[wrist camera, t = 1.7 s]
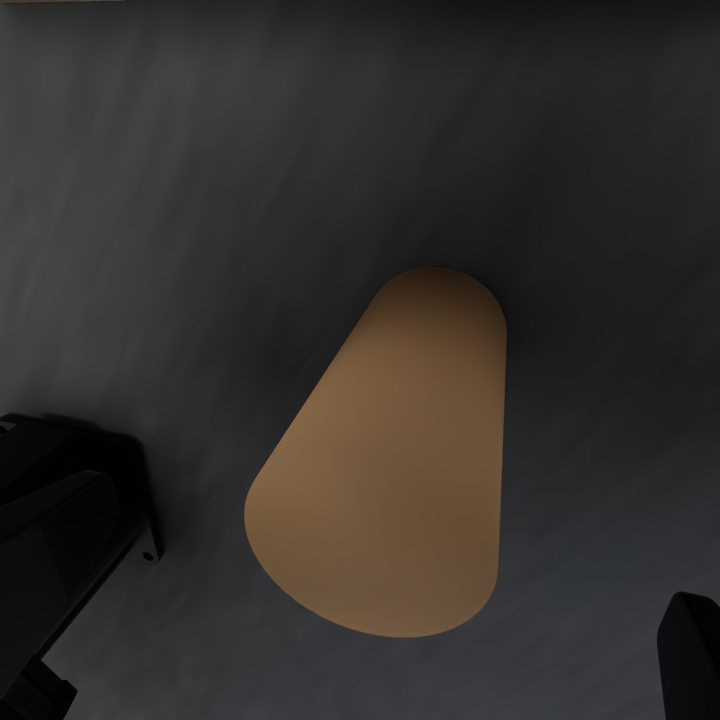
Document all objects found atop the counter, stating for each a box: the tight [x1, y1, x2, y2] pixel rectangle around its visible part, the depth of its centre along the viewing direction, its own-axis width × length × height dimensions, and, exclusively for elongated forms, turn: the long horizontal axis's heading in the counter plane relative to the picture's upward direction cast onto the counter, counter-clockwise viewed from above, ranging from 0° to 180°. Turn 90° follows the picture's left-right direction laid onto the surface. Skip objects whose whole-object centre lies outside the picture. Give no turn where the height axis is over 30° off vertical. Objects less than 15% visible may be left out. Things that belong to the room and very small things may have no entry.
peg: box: [244, 266, 507, 638], centre depth 11 cm, size 4×4×8 cm
